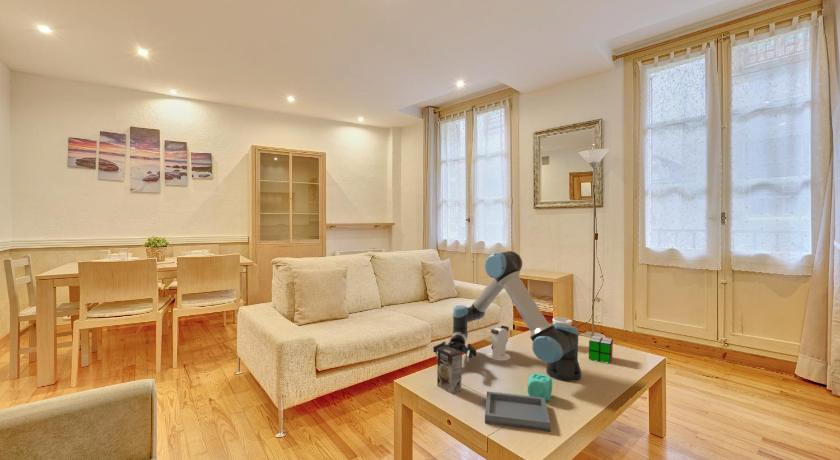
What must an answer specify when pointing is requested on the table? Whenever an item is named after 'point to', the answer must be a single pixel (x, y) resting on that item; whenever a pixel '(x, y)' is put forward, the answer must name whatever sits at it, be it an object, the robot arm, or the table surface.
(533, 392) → the decorative dice
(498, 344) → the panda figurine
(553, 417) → the table surface
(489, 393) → the tray
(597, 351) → the puzzle cube
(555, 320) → the jar
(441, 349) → the coffee box
